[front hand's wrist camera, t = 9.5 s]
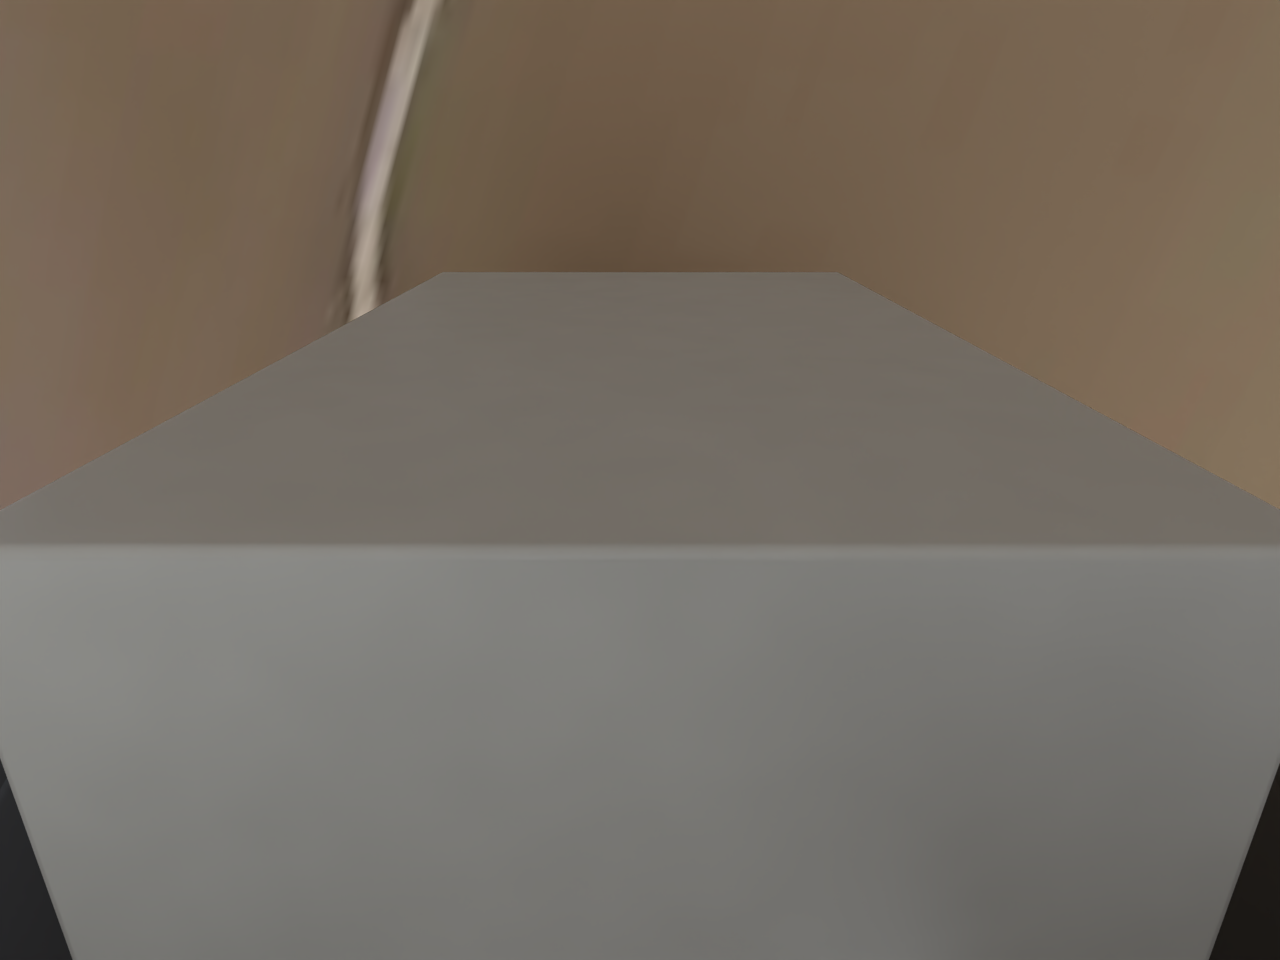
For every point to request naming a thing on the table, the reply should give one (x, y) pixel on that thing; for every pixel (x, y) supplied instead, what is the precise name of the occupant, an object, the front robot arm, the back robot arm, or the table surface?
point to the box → (640, 647)
